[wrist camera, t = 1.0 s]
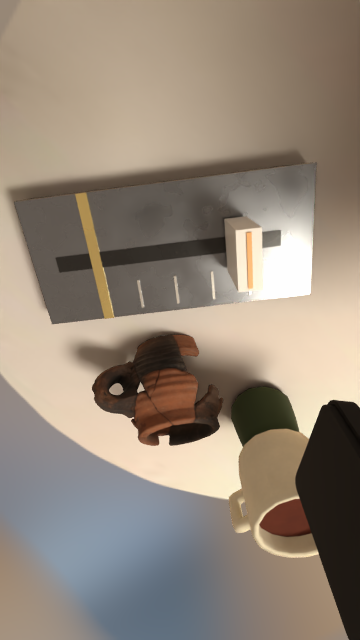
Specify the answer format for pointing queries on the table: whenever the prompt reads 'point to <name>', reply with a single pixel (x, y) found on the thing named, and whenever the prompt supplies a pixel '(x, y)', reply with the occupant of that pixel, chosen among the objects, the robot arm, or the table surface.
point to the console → (168, 242)
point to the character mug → (270, 474)
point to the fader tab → (244, 253)
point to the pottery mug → (161, 393)
